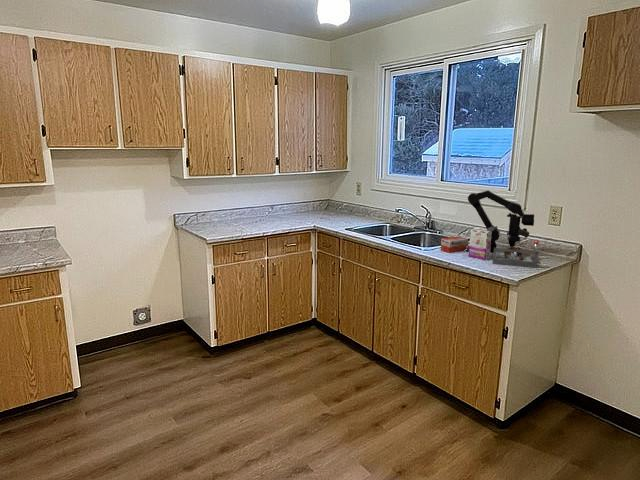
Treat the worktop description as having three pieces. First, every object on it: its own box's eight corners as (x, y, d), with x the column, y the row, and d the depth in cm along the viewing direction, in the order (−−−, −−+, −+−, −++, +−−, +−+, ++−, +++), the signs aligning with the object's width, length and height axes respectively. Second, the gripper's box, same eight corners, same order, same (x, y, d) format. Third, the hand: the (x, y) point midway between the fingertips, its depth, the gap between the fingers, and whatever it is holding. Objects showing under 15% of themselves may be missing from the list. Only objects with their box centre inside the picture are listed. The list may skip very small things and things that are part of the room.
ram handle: (531, 257, 245) (533, 240, 242) (531, 256, 247) (533, 239, 245) (537, 258, 244) (539, 240, 241) (537, 256, 246) (539, 239, 244)
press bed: (492, 263, 235) (494, 248, 233) (492, 261, 241) (493, 245, 239) (536, 268, 227) (538, 251, 225) (535, 265, 233) (537, 249, 231)
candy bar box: (489, 258, 245) (492, 231, 242) (485, 260, 242) (488, 232, 239) (472, 255, 254) (474, 228, 250) (467, 256, 251) (470, 229, 247)
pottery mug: (520, 262, 240) (513, 250, 239) (505, 266, 247) (498, 254, 247) (528, 253, 247) (522, 241, 247) (514, 257, 254) (507, 245, 254)
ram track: (532, 262, 237) (532, 261, 237) (530, 256, 250) (530, 255, 250) (539, 263, 236) (539, 262, 236) (537, 257, 249) (537, 256, 248)
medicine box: (449, 253, 258) (450, 240, 256) (440, 250, 265) (440, 238, 263) (467, 250, 264) (468, 238, 263) (458, 248, 272) (459, 236, 270)
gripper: (531, 228, 242) (527, 254, 245) (527, 222, 259) (525, 247, 262) (509, 226, 246) (507, 252, 249) (508, 221, 263) (505, 245, 266)
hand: (511, 249), depth 257 cm, fingers closed
